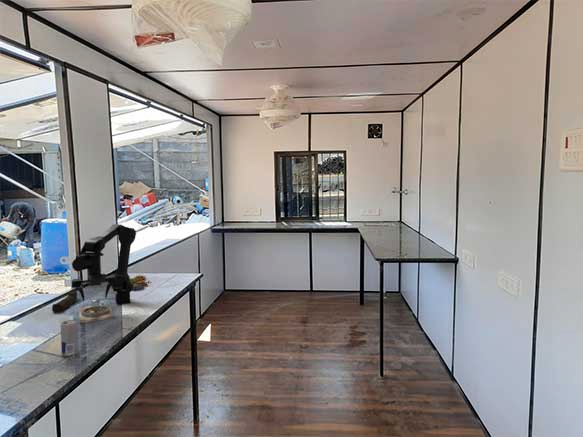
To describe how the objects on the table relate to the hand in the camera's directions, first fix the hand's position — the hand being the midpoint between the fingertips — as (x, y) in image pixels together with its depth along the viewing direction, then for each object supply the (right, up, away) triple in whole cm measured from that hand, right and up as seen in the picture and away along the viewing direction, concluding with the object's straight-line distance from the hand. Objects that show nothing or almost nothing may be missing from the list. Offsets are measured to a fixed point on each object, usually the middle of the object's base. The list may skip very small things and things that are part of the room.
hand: (94, 299), depth 183 cm
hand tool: (-22, -7, +14) cm, 27 cm away
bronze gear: (0, -7, +1) cm, 7 cm away
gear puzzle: (-3, -3, +57) cm, 57 cm away
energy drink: (+11, -12, -40) cm, 43 cm away
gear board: (-1, -8, +3) cm, 8 cm away
